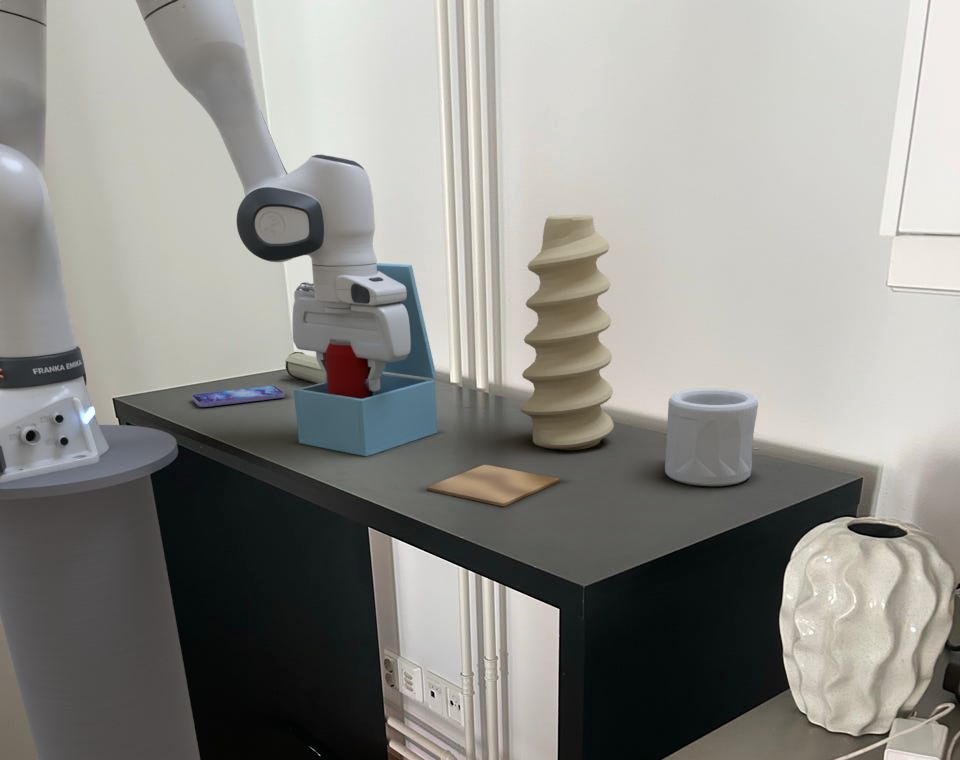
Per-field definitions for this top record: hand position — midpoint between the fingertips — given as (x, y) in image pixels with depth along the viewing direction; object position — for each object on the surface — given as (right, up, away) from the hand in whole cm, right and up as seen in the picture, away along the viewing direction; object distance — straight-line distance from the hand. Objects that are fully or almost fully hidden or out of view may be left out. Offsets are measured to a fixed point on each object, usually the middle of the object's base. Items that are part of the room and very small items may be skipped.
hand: (352, 387), depth 143 cm
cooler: (+2, -6, +5) cm, 8 cm away
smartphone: (-24, +6, +31) cm, 40 cm away
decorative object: (+31, -8, +1) cm, 32 cm away
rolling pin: (-9, +9, +38) cm, 40 cm away
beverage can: (0, -5, +2) cm, 6 cm away
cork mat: (+20, -17, -18) cm, 32 cm away
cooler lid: (+5, +10, +2) cm, 11 cm away
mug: (+47, -15, -15) cm, 51 cm away
